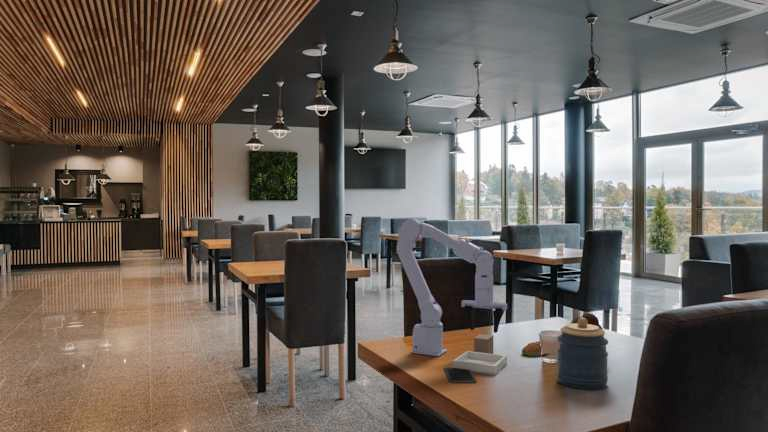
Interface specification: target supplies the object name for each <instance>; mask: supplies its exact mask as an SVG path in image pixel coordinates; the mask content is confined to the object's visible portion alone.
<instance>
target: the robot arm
mask: <svg viewBox="0 0 768 432" xmlns="http://www.w3.org/2000/svg"><path fill="white" fill-rule="evenodd" d="M419 238H421V239H423V238H427V239H428V238H430V239H432V240H435V241H437V242H439V243H441V244H443V245H445V246H447V247H449V248H451V249H452V252H453V254H454V255H455V256H457V257H459V258H460V259H463V260H464V261H466V262H468V263H469V264H475V267H476V268H475V275H474V300H469V299H468V300H467V299H465V300H464V299H463V300H461V308H463V313H465V315H466V318H467V321H468V325H469V328H470V331H473V330H475V327H476V325H475V324H476V323H475V317H476V316H475V315H476V308H477V309H487V310H493V311H492V316H493V333H494V334H495V333H497V332H498V331H499V325H500V322H501V320H502V317H503V315H504V314H505V311H507V310H508V303H505V302H498V301H497V302H496V301H494V274H493V271H494V269H493V266H494V262H495V260H494V258H493V254H492V253H490V252H489V251H488V250H486V249H484V247H483V246H478V245H476V244H474V243H472V242H470V241H471V240H470V239H468V238H466V239H464V238H460V239H456V238H454V237H452V236H450V235H449V234H447V233H446V232H444V231H442V230H440V229H438V228H437V227H435V226H434V225H432V224H428V223H426V222H423V221H422V222H421V221H420V220H419V219H414V218H413V219H408V220H404V222H403V223H402V225H401V226H400V228H399V229H398V237H397V243H396V253H397V255H398V258H399V260H400V262H401V264H402V267H403V269H404V272H405V274H406V276H407V278H408V281H409V283H410V286H411V289H412V290H413V293H414V295H415V298H416V299H417V304H418V307H419V311H420V320H421V321H420V323H416V324H415V325H414V326H413V328H412V351H411V353H412V354H418V355H425V356H426V355H427V356H434V357H440V356H441V355H444V353H446V352H447V350H448V349H446V348H444V347H443V344H444V343H443V342H444V341H443V340H444V339H443V335H444V334H443V333H444V331H443V330H444V329H443V328H444V327H443V325H444V324H443V323H442V322H441V319H442V316H443V309H442V307H441V305H440V304H439V303H438V302H437V301H436V300H435V298H434V296H433V295H432V293H431V291H430V288H429V286H428V284H427V281H426V279H425V278H424V275H423V272H422V270H421V268H420V266H419V263H418V261H417V258H416V256H415V254H414V252H413V251H414V250H413V249H414V246H415V245H416V241H417V240H418V239H419Z"/></svg>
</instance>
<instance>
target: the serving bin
mask: <svg viewBox="0 0 768 432" xmlns="http://www.w3.org/2000/svg"><path fill="white" fill-rule="evenodd" d="M507 364H508V356H507V355H504V354H495V353H493V354H488V353H481V352H474V350H473V351H471V350H466V351H465V352H463V353H462V354H461V355H459V356H457V357H456V358H455V359H453V360H452V367H453V368H458V369H465V370H470V371H471V373H478V374H485V375H491V376H492V375H493V376H496V375H497V374H498V373H499V372H500V371H501V370H502V369H504V368H505V367H506V366H507Z"/></svg>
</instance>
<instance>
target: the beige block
mask: <svg viewBox="0 0 768 432" xmlns="http://www.w3.org/2000/svg"><path fill="white" fill-rule="evenodd" d="M473 352H481V353H488V354H494V335H492V334H480V333H479V334H478V335H476V336H475V337H474V338H473Z"/></svg>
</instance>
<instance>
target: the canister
mask: <svg viewBox="0 0 768 432" xmlns="http://www.w3.org/2000/svg"><path fill="white" fill-rule="evenodd" d="M602 329H603V328H602ZM602 329H600V328H599V327H598V326H595V325H591V324H588V321H587V320H586V319H585V318H579V319H578V322H577V323H571V322H570V323H568V324H566V325H565V326H563V327H561V328H560V332H561V334H559V335H557V336H556V338H557V339H556V340H558V341H559V342H558V343H559V344H558V347H557V350H556V351H557V370H556V376H557V381H558V382H559V383H560V384H562V385H564V386H565V387H568V388H572V389H579V390H587V391H588V390H590V391H591V390H592V391H593V390H594V391H595V390H602V389H604V388H606V387H607V384H608V381H609V375H608V356H609V352H608V351H607V345H608V344H609V340H608V339H607V338H605V334H606V332H604V331H605V330H604V329H603V330H602ZM603 335H604V336H603Z"/></svg>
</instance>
